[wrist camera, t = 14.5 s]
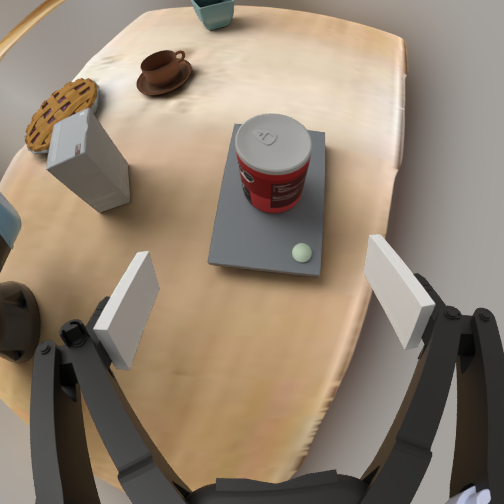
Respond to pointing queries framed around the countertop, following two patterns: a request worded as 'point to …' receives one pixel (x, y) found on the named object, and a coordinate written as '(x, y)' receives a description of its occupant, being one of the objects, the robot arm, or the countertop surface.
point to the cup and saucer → (163, 72)
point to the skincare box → (88, 162)
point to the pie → (60, 112)
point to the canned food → (273, 161)
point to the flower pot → (214, 12)
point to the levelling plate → (270, 222)
